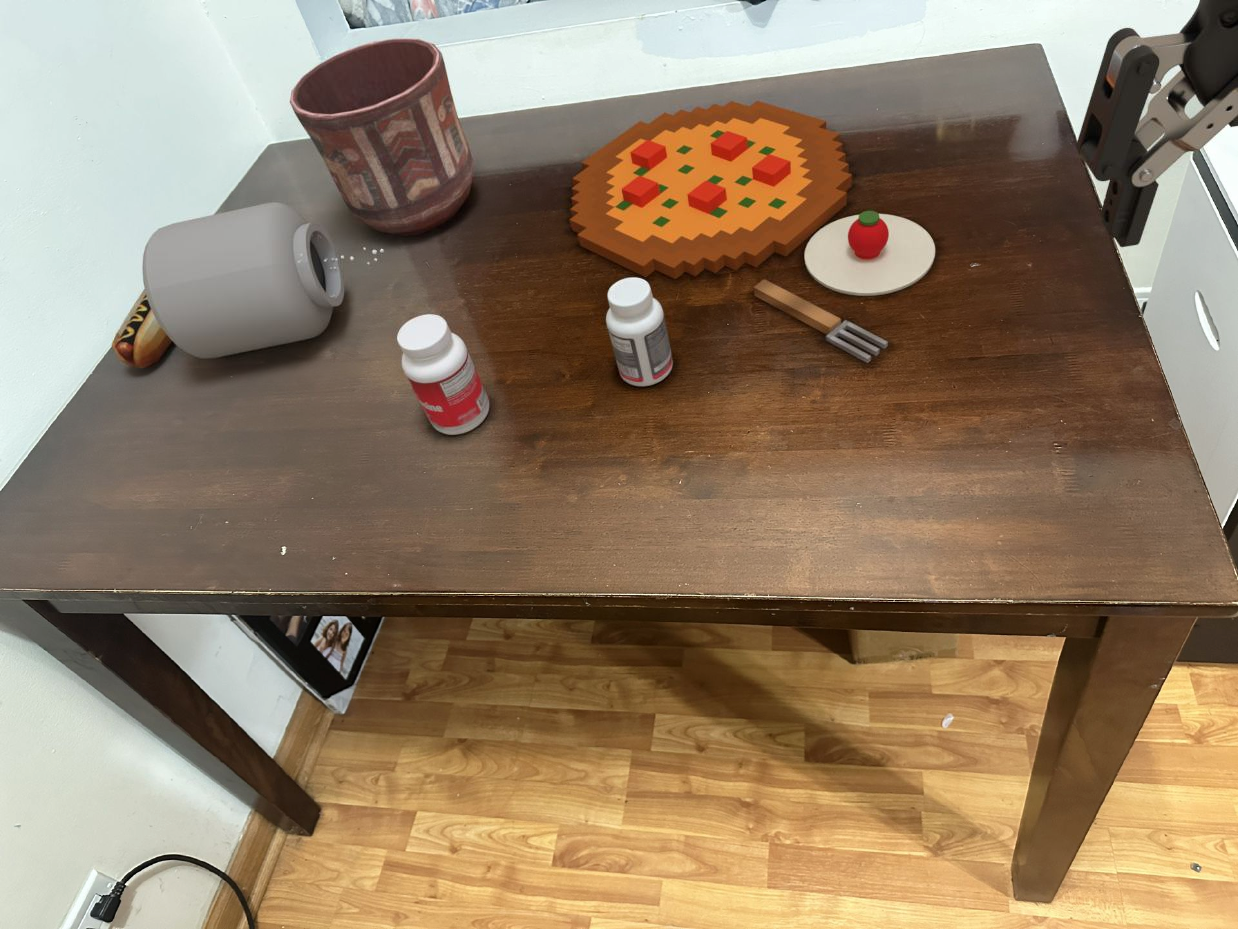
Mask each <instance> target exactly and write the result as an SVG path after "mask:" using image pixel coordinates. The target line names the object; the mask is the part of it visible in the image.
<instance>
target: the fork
mask: <svg viewBox="0 0 1238 929" xmlns="http://www.w3.org/2000/svg"><path fill="white" fill-rule="evenodd" d="M753 295H754V297H756V298H757V299H759V300H761V301H763V302H765V303H767V304H768V305H771V306H772V307H774V308H776V309H777V310H780V311H782V312H784V313H785V314H787V315H789V316H791V317H793V318H794V319H797V320H798V321H800V322H802V323H804V324H805V325H807V326H809V327H812V329H815V330H817V331H819V332H821V333H822V334H824V335H825V341H826V342H828V343H830V344H831V345H833V346H835V347H837V348H839V349H840V350H842V351H844V352H846V353H848V354H850V355H852V356H853V357H855V358H857V359H858V360H860V361H863V362H865V363H866V364H869V362H871V361H872V356H871V355H873V356H875V357H877V356H878V355H879V354H880V351H881V350H880V348H881V349H884V350H885V349H886V348H888V347H889V342H888V341H887V340H885V339H883V338H882V337H880V336H878V335H876V334H874V333H872V332H870V331H868V330H866V329H864V328H862V327H860V326H858V325H856V324H855V323H852V322H851V321H849V320H847V319H845V320H844V321H842V318H840V317H838V316H836V315H835V314H832V313H831V312H829V311H827V310H825V309H823V308H821V307H819V306H817V305H816V304H813V303H811V302H809V301H808V300H806V299H804V298H802V297H800V296H797V295H796V294H795V293H792V292H790V291H788V290H786V289H784V288H782V287H781V286H778V285H777V284H775V283H773V282H771V281H769V280H768V279H765V278H764V279H762V280H761V281H760V282H758V283H757V284H755V285H754V286H753ZM847 330H848V331H849V332H848V331H847ZM850 332H851V333H850ZM852 333H853V334H852ZM854 334H855V335H854ZM858 336H859V337H858ZM839 337H840V338H842V339H840V338H839ZM861 338H863V339H865V340H866V341H865V340H863V339H861ZM843 339H844V340H843ZM846 341H847V342H849V343H847V342H846ZM869 342H870V343H869ZM850 343H851V344H850ZM871 343H872V344H871ZM852 344H853V345H855V346H856V347H855V346H853V345H852ZM873 344H874V345H873ZM875 345H876V346H875ZM877 346H878V347H877ZM857 347H859V348H860V349H862V350H860V349H859V348H857ZM879 347H880V348H879ZM864 351H866V352H864ZM867 352H868V353H870V354H871V355H870V354H868V353H867Z"/></svg>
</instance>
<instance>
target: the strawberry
mask: <svg viewBox="0 0 1238 929" xmlns="http://www.w3.org/2000/svg"><path fill="white" fill-rule="evenodd" d="M879 214H880V213H878V212H877V211H874V210H865V211H863V212H861V213H860V214H858V215H859V218H858V219H857V220H856V221H855V222H854V223H853V224H852V225H851V227H850V229H849V232H848V242H849V245H850V247H851V248H852V250H853V251H854V252H855V255H856V256H857V257H858V258H861V259H873V258H875V257H877V256H878V255H879V254H880V252H881V250H882V249H883V248H884V247H885V245H886V244H887V241H888V237H889V231H888V227H887V225H886V223H885V222H884V221H883V220H882V219H881V218H879Z"/></svg>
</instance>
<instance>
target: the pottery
mask: <svg viewBox="0 0 1238 929" xmlns="http://www.w3.org/2000/svg"><path fill="white" fill-rule="evenodd" d="M289 104H290V106H291V108H292V110H293V113H294V114H295V117H296V118H297V119H298V122H299V124H300V125H301V126H302V127H303V129H304V131H305V132H306V134H307V135H308V137H309V138H310V139H311V141H312V143H313V144H314V146H315V149H317V152H318V153H319V155H320V156H321V157H320V158H322V161H323V162H324V164H325V166H326V168H327V170H328V171H329V174H330V176H331V178H332V180H333V182H334V184H335V186H336V188H337V190H338V192H339V194H340V197H341V198H342V200H343V201H344V203H345V205H346V206H347V208H348V209H349V211H350V213H352V215H353V216H354V217H355V218H356V219H358V220H359V221H360V222H362V223H363V224H364V225H366V226H368V227H369V228H371V229H373V230H375V231H377V232H380V233H384V234H387V235H390V236H395V237H396V236H397V237H408V236H410V237H411V236H418V235H421V234H425V233H428V232H430V231H432V230H434V229H437V228H438V227H441V226H443V225H444V224H446V223H447V222H448V221H449V220H451V219H452V218H453V217H455V216H456V214H457V213H458V212H459V210H460V209H461V207H462V206H463V205H464V203H465V201H466V199H467V198H468V197H469V195H470V193H471V188H472V183H473V176H474V175H473V174H474V159H473V156H472V152H471V148H470V146H469V143H468V141H467V137H466V135H465V132H464V130H463V127H462V124H461V122H460V121H461V120H460V118H459V116H458V112H457V108H456V105H455V101H454V97H453V94H452V89H451V86H450V81H449V77H448V72H447V68H446V63H445V59H444V56H443V53H442V51H441V50H440V49H439V48H438V47H437V45H435V43H432V42H429V41H426V40H422V39H419V38H403V37H402V38H401V37H400V38H395V37H394V38H389V39H383V40H375V41H372V42H368V43H365V44H362V45H359V46H354V47H351V48H349V49H347V50H345V51H343V52H340V53H338V54H336V55H333V56H332V57H329V58H328V59H326V60H324V61H323V62H321V63H319V64H317V65H316V66H315V67H313V68H312V69H310V70H309V71H308V72H306V73H305V74H303V76H302V77H301V78H300V79H299V80H298V82H297V83H296V84H295V86H294V87H293V89H291V93H290V99H289Z"/></svg>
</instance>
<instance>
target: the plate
mask: <svg viewBox="0 0 1238 929" xmlns="http://www.w3.org/2000/svg"><path fill="white" fill-rule="evenodd" d="M878 214H879V218H881V219H882V220H883V221H884V222H885V223H886V225H887V227H888V231H889V237H888V241H887V244H886V245H885V247H884V248H883V249H882V250H881V252H880V254H879V255H878V256H877V257H875V258H873V259H861V258H858V257H857V256H856V255H855V252H854V251H853V250H852V248H851V247H850V245H849V242H848V232H849V229H850V227H851V225H852V224H853V223H854V222H855V221H856V220H857V219H858V218H859V215H860V214H854V215H851V216H850V215H849V216H846V217H843V218H840V219H837V220H835V221H832V222H830V223H828V224H826V225H824V226H823V227H822V228H819V229H818V230H817V231H816V232H814V234H813V235H812V236H811V237H810V239H809V241H808V242H807V243H806V247H805V249H804V265H805V268H806V270H807V272H808V274H809V275H810V276H811V277H812V278H813V280H815V282H817V283H818V284H820V285H821V286H823V287H825V288H827V289H829V290H831V291H834V292H837V293H840V294H845V295H849V296H858V297H859V296H860V297H870V296H871V297H872V296H880V295H881V296H882V295H886V294H891V293H895V292H898V291H901V290H904V289H906V288H908V287H910V286H912V285H914V284H916V283H917V282H918V281H920V280H921V279H923V277H925V275H927V273H928V272H929V271H930V270H931V268H932V266H933V264H934V262H935V258H936V245H935V242H934V240H933V238H932V237H931V235H930V233H929V232H928V231H927V230H926V229H925V228H923V227H922V226H921V225H919V224H918V223H916V222H914V221H912V220H910V219H908V218H904V217H902V216H899V215H894V214H887V213H878Z"/></svg>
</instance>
